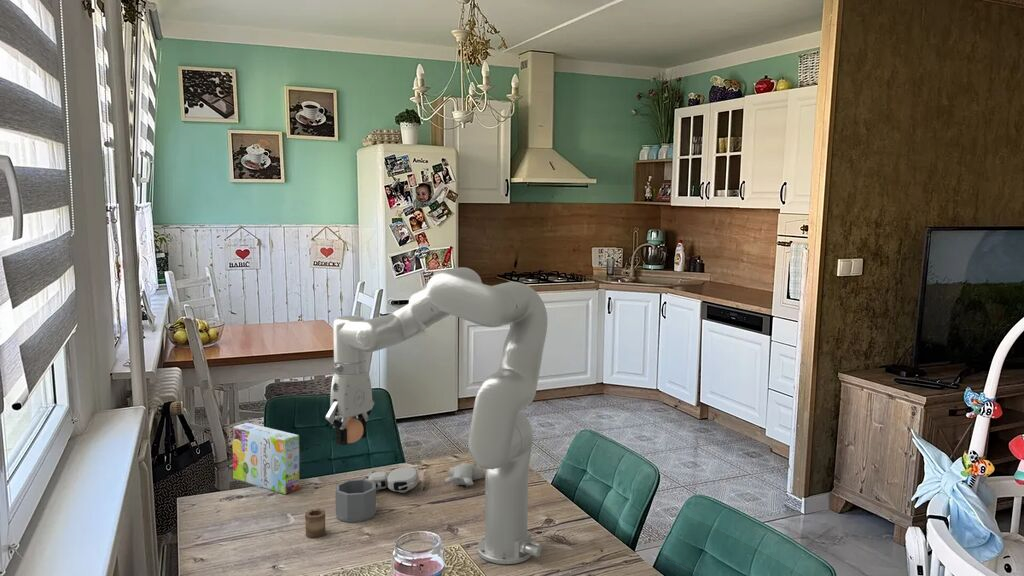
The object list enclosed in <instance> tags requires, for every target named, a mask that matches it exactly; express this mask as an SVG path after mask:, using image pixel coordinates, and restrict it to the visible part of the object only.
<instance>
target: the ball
mask: <svg viewBox="0 0 1024 576" xmlns="http://www.w3.org/2000/svg"><path fill="white" fill-rule="evenodd" d="M345 429H347V444H354V443H356V442H358V441H359V440H361V438H362V435H363V431H364V429H363V425H362V423H361V422H360V421H359V420H358V419H357V417H356V418H355V417H350V418H347V421H346V425H345Z"/></svg>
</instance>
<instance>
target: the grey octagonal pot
mask: <svg viewBox="0 0 1024 576" xmlns="http://www.w3.org/2000/svg"><path fill="white" fill-rule="evenodd" d="M376 514H377V490H376V483H375V482H373V481H369V480H366V479H364V478H357V479H346V480H345V481H342V482H340V483H338V484H335V517H336V519H337V520H339V521H341V522H344V523H361V522H366V521H368V520H371V519H373V518H374V517H375V516H376Z"/></svg>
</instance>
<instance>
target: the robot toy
mask: <svg viewBox="0 0 1024 576" xmlns="http://www.w3.org/2000/svg"><path fill="white" fill-rule="evenodd" d="M419 467H420V466H419V465H417V466H416V465H415V467H412V466H411V467H409V466H407V467H397V468H395V469H393V470H392V471H391V472H390V473H388V472H386V471H371V472H367V474H366V476H365V477H364V478H363V479H366V480H369V481H373V482H375V483H376V491H380V490H383V489H386V488H388V489H389V490H390V491H393V492H398V493H401V494H404V493H407V492H408V491H411V490H412V489H414V488H415V487H416V486H417V485H418V483H419V481H420V480H419V471H418V470H417V469H418V468H419Z"/></svg>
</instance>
